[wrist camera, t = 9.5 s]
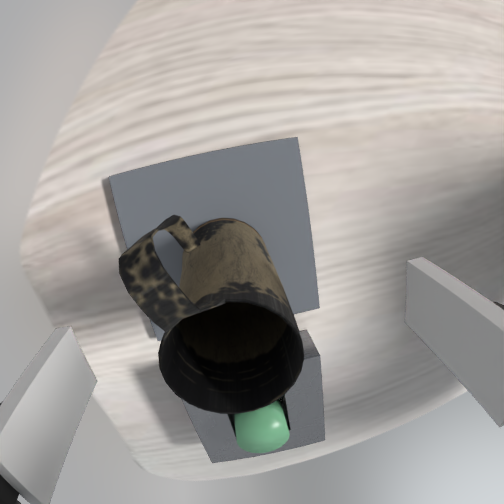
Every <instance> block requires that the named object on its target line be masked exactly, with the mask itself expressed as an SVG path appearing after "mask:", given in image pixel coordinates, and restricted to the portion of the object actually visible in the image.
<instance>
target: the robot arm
mask: <svg viewBox="0 0 504 504" xmlns="http://www.w3.org/2000/svg"><path fill="white" fill-rule="evenodd" d="M405 323H406V324H407V325H408V326H409V327H410V328H411V329H412V330H413V331H414V332H415V333H416V334H417V335H418V336H419V337H420V338H421V340H422V341H423V342H424V343H425V344H426V345H427V346H428V347H429V348H430V349H431V350H432V351H433V352H434V353H435V355H436V356H437V357H438V358H439V359H440V360H441V361H442V362H443V363H444V364H445V365H446V366H447V368H448V369H449V370H450V371H451V372H452V373H453V374H454V375H455V376H456V378H457V379H458V380H459V381H460V382H461V383H462V384H463V385H464V387H465V388H466V389H467V390H468V391H469V392H470V393H471V394H472V396H473V397H474V398H475V399H476V400H477V401H478V403H479V404H480V405H481V406H482V407H483V408H484V409H485V411H486V412H487V413H488V414H489V415H490V417H491V418H492V419H493V420H494V421H495V423H496V424H497V425H498V426H499V427H501V426H503V425H504V305H502V304H499V303H496V302H492V301H490V300H489V299H487V298H486V297H484V296H483V295H481V294H480V293H478V292H477V291H475V290H474V289H472V288H471V287H469V286H468V285H466V284H465V283H463V282H462V281H460V280H459V279H457V278H456V277H454V276H453V275H451V274H449V273H448V272H446V271H445V270H443V269H441V268H440V267H438V266H437V265H435V264H434V263H432V262H430V261H429V260H427V259H425V258H424V257H420V258H416V259H412V260H408V261H407V281H406V309H405ZM96 383H97V379H96V377H95V375H94V373H93V371H92V369H91V368H90V366H89V364H88V362H87V360H86V358H85V355H84V353H83V351H82V349H81V347H80V345H79V343H78V341H77V339H76V336H75V334H74V332H73V330H72V327H71V326H69V327H62V328H56V329H55V331H54V332H53V333H52V335H51V336H50V337H49V338H48V340H47V341H46V342H45V344H44V345H43V346H42V348H41V349H40V350H39V352H38V353H37V354H36V356H35V357H34V358H33V360H32V361H31V362H30V364H29V365H28V366H27V368H26V369H25V371H24V372H23V373H22V375H21V376H20V378H19V379H18V380H17V382H16V383H15V385H14V386H13V388H12V389H11V391H10V392H9V394H8V395H7V397H6V398H5V400H4V401H3V402H2V403H0V504H21V503H20V502H19V501H18V500H17V498H18V495H19V494H20V495H22V497H23V498H25V499H26V500H27V501H28V502H29V503H30V504H50V501H51V498H52V495H53V492H54V489H55V486H56V483H57V480H58V478H59V475H60V472H61V469H62V466H63V464H64V461H65V458H66V456H67V453H68V450H69V448H70V445H71V443H72V440H73V437H74V435H75V432H76V430H77V428H78V425H79V423H80V420H81V418H82V415H83V413H84V411H85V408H86V406H87V404H88V401H89V399H90V396H91V394H92V392H93V390H94V388H95V385H96Z"/></svg>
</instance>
